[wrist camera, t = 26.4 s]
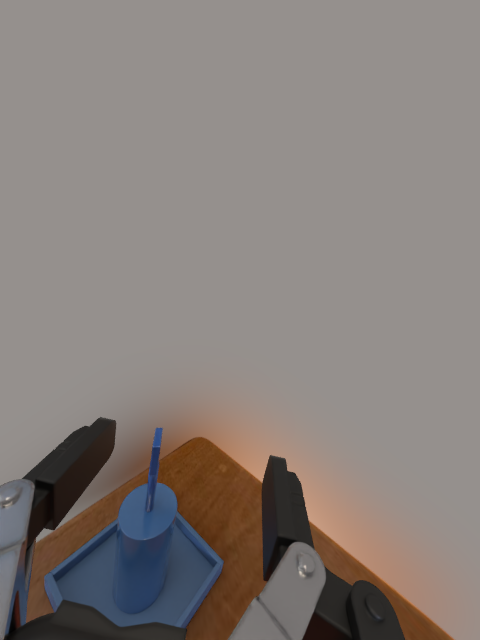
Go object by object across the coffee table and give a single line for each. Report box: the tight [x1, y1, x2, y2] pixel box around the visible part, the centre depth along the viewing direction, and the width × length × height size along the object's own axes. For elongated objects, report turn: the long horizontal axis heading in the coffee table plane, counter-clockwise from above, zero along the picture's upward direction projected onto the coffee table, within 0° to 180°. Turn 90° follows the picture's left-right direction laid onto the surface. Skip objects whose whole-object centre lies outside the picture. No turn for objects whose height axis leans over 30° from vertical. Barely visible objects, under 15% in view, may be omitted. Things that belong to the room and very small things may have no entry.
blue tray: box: [45, 512, 224, 628], centre depth 28 cm, size 14×14×2 cm
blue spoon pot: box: [112, 428, 177, 614], centre depth 26 cm, size 6×6×20 cm
